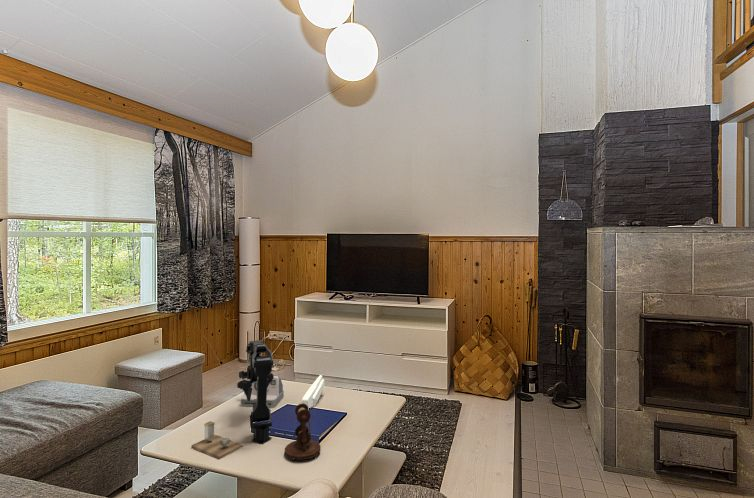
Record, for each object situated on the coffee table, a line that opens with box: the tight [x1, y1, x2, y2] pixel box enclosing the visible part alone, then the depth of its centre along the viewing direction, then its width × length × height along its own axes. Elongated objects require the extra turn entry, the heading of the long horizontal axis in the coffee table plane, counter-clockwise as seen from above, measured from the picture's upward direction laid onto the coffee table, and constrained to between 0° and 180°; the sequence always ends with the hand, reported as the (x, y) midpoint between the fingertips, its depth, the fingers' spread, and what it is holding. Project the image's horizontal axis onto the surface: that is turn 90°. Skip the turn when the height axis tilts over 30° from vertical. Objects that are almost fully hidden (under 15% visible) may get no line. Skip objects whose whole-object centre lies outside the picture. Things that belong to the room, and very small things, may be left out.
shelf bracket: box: [301, 374, 326, 409], centre depth 233 cm, size 6×25×13 cm, turn 168°
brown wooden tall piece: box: [284, 402, 321, 462], centre depth 177 cm, size 15×15×20 cm
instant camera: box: [240, 374, 285, 409], centre depth 236 cm, size 21×21×15 cm
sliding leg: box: [203, 420, 215, 442], centre depth 185 cm, size 3×3×8 cm
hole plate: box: [190, 434, 244, 460], centre depth 182 cm, size 18×12×5 cm, turn 59°
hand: (256, 397), depth 208 cm, fingers open, 9 cm apart
